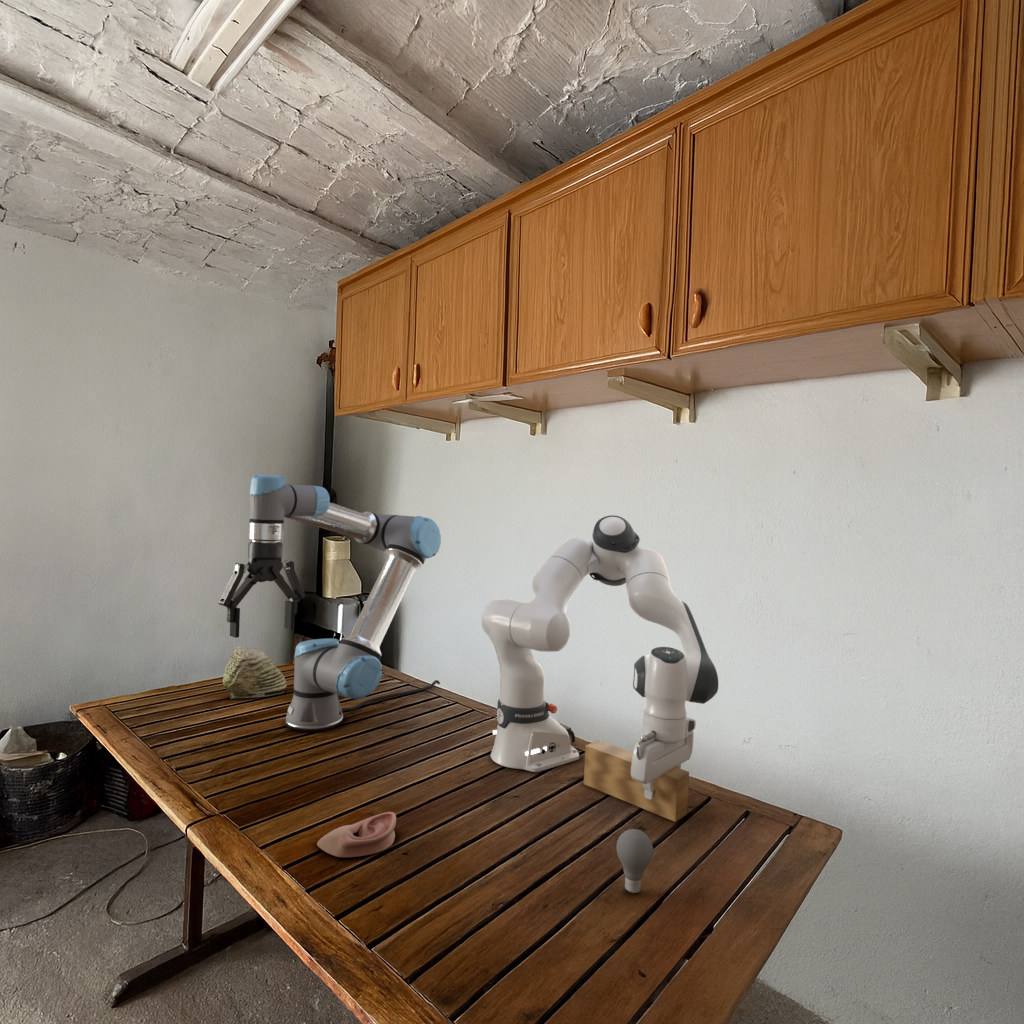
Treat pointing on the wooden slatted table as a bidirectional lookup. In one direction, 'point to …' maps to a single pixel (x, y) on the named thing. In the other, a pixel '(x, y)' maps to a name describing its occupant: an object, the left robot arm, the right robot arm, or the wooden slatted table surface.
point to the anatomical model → (361, 837)
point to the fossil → (252, 674)
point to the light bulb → (634, 857)
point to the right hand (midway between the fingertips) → (660, 790)
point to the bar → (613, 777)
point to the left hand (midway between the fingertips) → (262, 632)
